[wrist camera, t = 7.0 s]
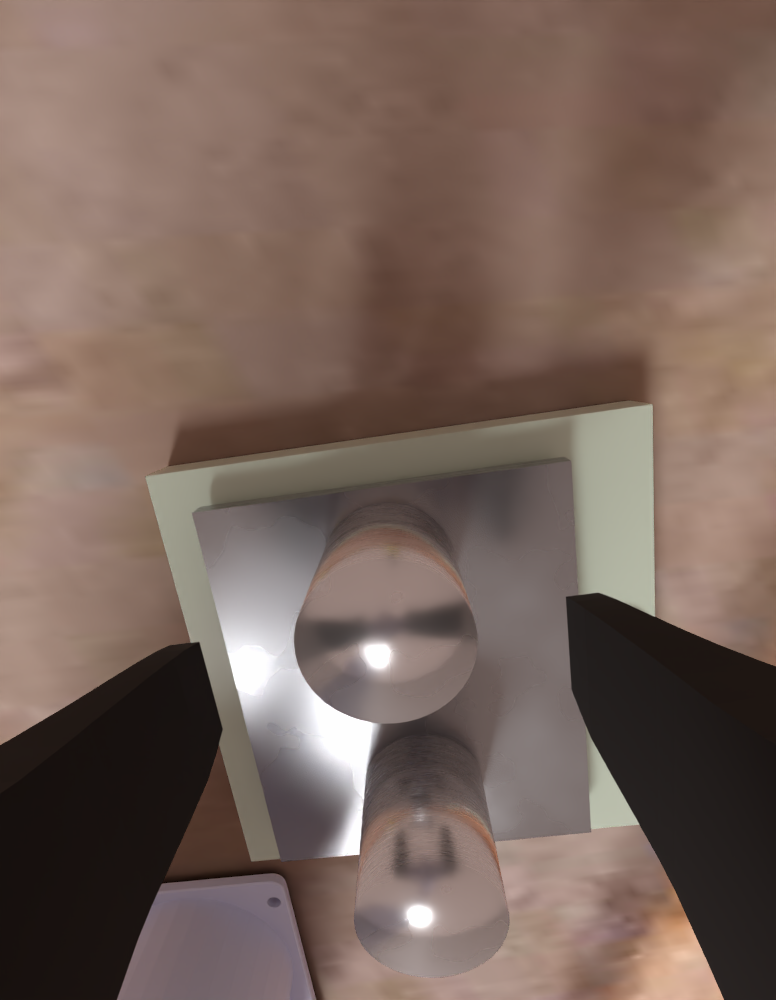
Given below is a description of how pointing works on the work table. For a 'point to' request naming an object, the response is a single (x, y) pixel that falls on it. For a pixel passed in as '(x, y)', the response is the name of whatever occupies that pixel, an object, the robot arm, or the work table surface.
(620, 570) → the scale
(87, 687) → the work table surface
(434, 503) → the scale platform
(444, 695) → the cylinder
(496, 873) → the cylinder
